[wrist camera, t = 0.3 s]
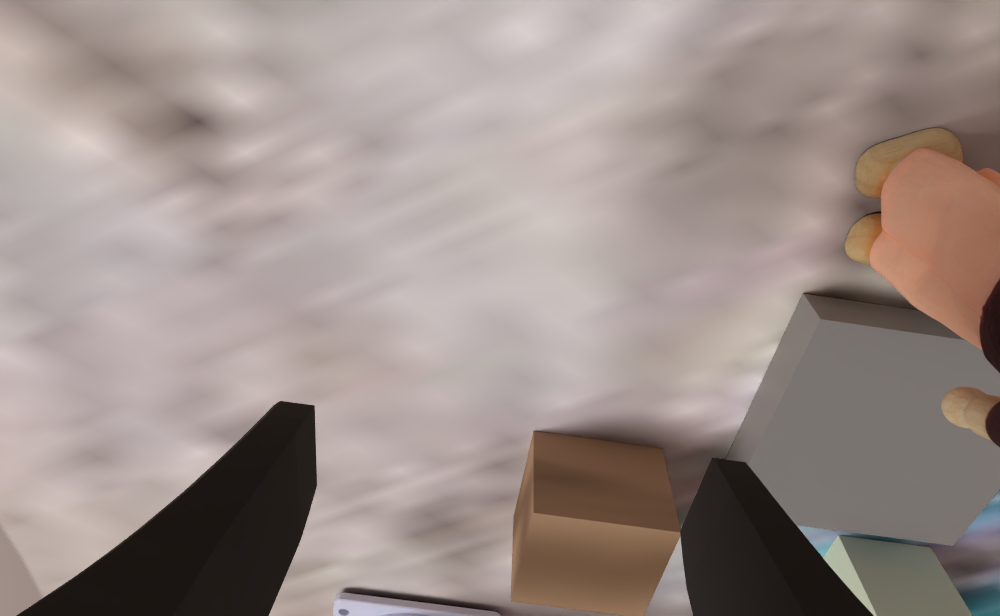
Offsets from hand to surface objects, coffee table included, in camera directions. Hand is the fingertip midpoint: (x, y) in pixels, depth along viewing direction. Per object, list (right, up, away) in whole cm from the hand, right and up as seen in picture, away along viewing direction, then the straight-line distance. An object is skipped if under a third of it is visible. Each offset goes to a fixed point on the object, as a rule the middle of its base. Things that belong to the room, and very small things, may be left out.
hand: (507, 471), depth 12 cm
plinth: (+13, -1, +11) cm, 18 cm away
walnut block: (+3, -4, +14) cm, 15 cm away
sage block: (+16, -8, +16) cm, 24 cm away
